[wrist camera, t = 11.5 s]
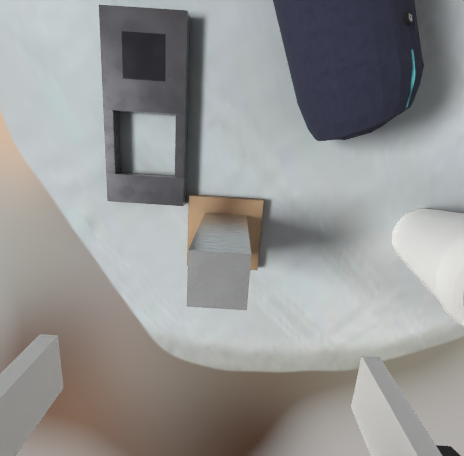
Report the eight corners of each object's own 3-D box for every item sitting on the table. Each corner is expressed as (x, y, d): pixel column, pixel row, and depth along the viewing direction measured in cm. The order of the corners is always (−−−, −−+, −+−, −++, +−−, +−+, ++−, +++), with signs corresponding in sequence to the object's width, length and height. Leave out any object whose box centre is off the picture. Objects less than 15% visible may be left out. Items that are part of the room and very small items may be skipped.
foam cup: (363, 223, 35) (434, 269, 22) (441, 177, 34) (563, 199, 21) (400, 288, 37) (484, 363, 25) (475, 247, 36) (605, 305, 23)
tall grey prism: (246, 215, 34) (251, 253, 22) (243, 254, 35) (246, 310, 24) (204, 212, 34) (188, 250, 22) (203, 251, 35) (186, 306, 24)
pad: (262, 199, 34) (263, 200, 33) (256, 266, 37) (257, 270, 36) (190, 194, 34) (189, 195, 33) (188, 262, 37) (187, 265, 36)
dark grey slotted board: (189, 17, 30) (187, 10, 28) (185, 203, 35) (183, 206, 33) (106, 11, 30) (98, 4, 28) (113, 198, 35) (107, 201, 33)
